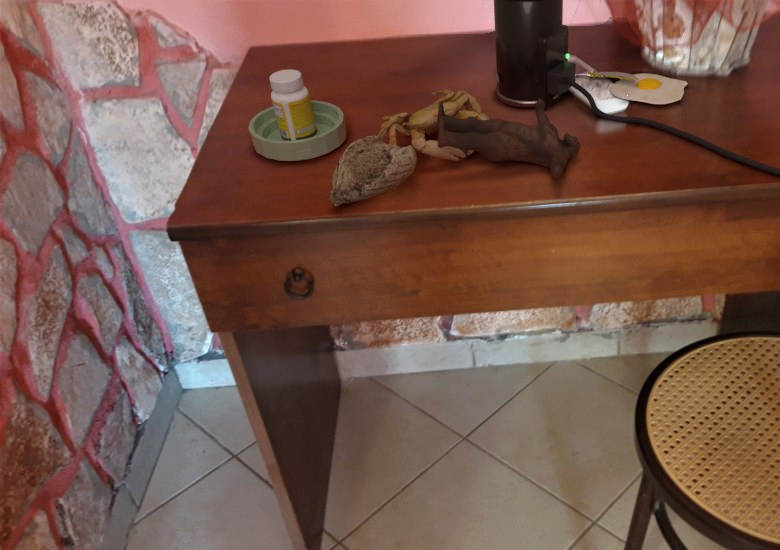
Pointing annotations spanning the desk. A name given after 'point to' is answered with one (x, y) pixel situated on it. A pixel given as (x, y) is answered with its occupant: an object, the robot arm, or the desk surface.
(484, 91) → the desk surface
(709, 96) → the desk surface
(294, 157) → the dish
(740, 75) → the desk surface
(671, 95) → the cracked egg
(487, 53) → the desk surface
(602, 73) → the decorative knife
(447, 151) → the crab model
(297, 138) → the supplement bottle
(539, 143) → the figurine
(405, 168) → the seashell
